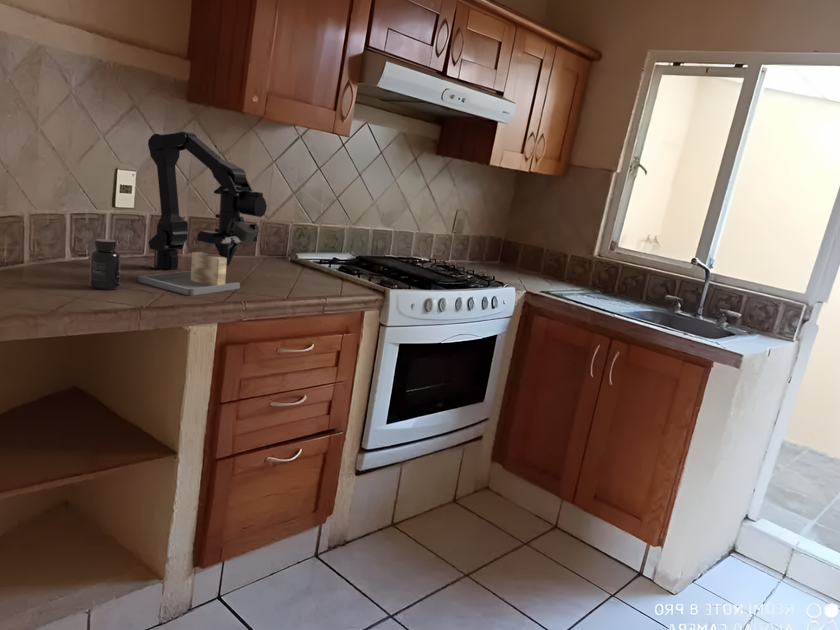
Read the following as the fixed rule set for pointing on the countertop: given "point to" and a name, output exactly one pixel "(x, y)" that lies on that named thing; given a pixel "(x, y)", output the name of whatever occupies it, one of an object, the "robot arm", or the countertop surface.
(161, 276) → the mat
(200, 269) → the wooden block
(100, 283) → the supplement bottle
